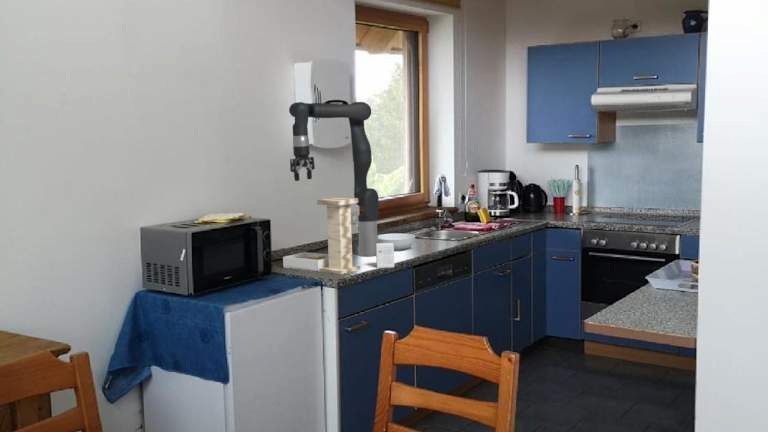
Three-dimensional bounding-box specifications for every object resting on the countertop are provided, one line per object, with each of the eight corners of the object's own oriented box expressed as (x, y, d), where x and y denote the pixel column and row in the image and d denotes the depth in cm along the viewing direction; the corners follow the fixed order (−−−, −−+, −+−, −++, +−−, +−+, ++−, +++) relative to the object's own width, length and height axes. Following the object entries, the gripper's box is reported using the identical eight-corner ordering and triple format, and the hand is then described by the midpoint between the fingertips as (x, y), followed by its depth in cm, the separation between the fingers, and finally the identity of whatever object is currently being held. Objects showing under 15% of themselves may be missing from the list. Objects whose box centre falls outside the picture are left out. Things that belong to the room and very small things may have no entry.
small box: (393, 265, 361) (393, 242, 360) (394, 267, 356) (393, 244, 354) (376, 265, 361) (375, 243, 360) (376, 268, 355) (376, 244, 354)
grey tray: (305, 262, 374) (304, 252, 373) (339, 266, 362) (339, 255, 361) (283, 267, 362) (282, 256, 361) (318, 271, 349) (318, 260, 349)
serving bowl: (368, 251, 404) (367, 238, 403) (386, 245, 422) (386, 232, 421) (404, 253, 394) (404, 239, 393) (422, 247, 413) (422, 234, 412)
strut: (300, 262, 368) (299, 252, 368) (326, 265, 359) (325, 254, 358) (291, 264, 364) (290, 253, 363) (317, 267, 354) (317, 256, 354)
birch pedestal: (339, 267, 360) (337, 197, 356) (360, 269, 353) (358, 198, 349) (319, 272, 348) (316, 200, 345) (340, 274, 342) (338, 200, 338)
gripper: (296, 146, 361) (299, 181, 363) (317, 144, 372) (319, 178, 374) (284, 146, 365) (287, 181, 367) (305, 144, 376) (307, 178, 378)
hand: (303, 179), depth 371 cm, fingers open, 8 cm apart
